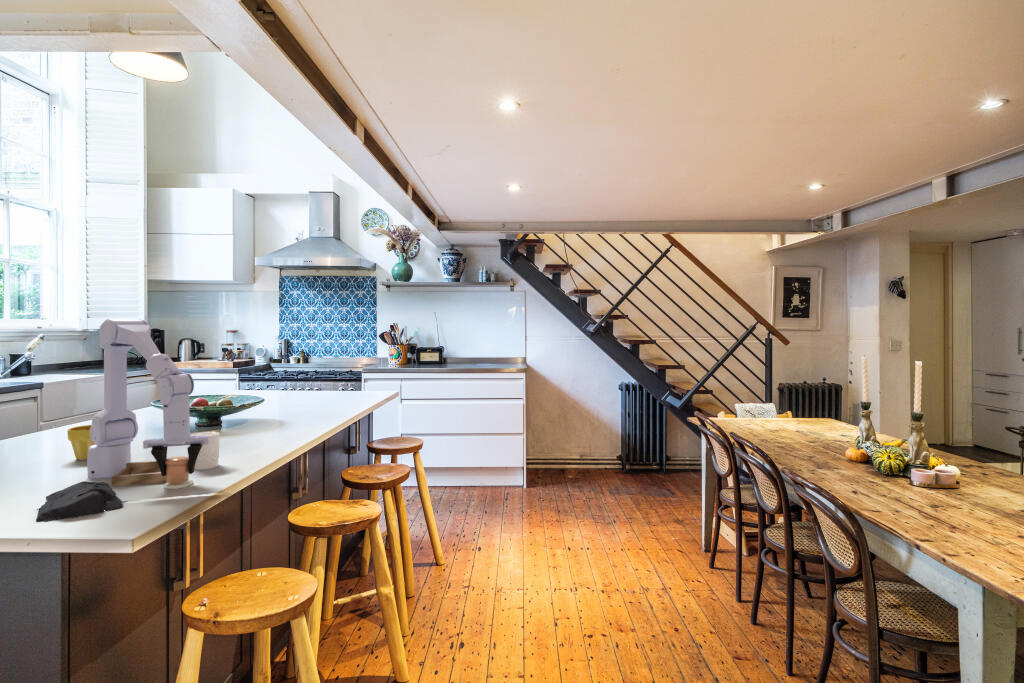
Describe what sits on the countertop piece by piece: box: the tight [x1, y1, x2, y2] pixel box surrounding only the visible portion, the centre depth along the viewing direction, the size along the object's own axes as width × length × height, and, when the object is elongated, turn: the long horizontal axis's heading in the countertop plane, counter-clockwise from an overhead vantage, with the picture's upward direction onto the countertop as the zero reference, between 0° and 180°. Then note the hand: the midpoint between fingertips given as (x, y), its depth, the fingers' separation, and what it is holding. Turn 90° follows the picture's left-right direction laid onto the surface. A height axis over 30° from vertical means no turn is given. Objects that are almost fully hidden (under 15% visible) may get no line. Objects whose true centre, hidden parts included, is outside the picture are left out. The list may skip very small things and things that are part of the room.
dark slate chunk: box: [35, 480, 123, 523], centre depth 128 cm, size 15×22×5 cm
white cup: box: [188, 431, 221, 471], centre depth 160 cm, size 8×8×10 cm
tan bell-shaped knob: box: [165, 456, 190, 483], centre depth 141 cm, size 6×6×6 cm
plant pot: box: [66, 424, 96, 459], centre depth 174 cm, size 10×10×10 cm
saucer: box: [162, 479, 194, 490], centre depth 141 cm, size 8×8×1 cm
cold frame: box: [111, 460, 167, 487], centre depth 148 cm, size 14×11×4 cm
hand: (178, 474), depth 141 cm, fingers closed on tan bell-shaped knob, 5 cm apart
